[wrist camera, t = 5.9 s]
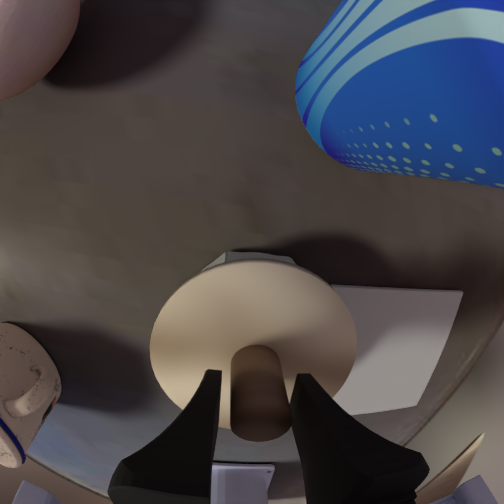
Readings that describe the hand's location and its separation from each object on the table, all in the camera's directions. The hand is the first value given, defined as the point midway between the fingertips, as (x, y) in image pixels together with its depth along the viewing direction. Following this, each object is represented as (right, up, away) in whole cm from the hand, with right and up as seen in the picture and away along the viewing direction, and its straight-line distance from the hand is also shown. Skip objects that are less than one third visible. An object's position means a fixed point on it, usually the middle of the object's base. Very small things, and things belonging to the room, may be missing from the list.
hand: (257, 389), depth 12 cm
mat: (+10, -2, +8) cm, 13 cm away
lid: (0, +1, +2) cm, 3 cm away
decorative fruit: (-13, +19, +1) cm, 24 cm away
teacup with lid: (-19, -3, +7) cm, 20 cm away
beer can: (+6, +15, +3) cm, 16 cm away
